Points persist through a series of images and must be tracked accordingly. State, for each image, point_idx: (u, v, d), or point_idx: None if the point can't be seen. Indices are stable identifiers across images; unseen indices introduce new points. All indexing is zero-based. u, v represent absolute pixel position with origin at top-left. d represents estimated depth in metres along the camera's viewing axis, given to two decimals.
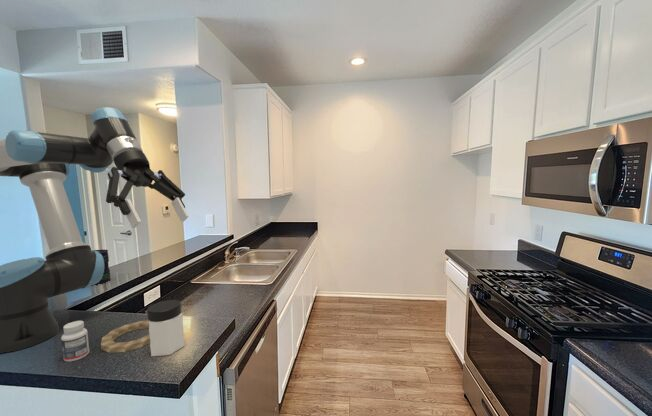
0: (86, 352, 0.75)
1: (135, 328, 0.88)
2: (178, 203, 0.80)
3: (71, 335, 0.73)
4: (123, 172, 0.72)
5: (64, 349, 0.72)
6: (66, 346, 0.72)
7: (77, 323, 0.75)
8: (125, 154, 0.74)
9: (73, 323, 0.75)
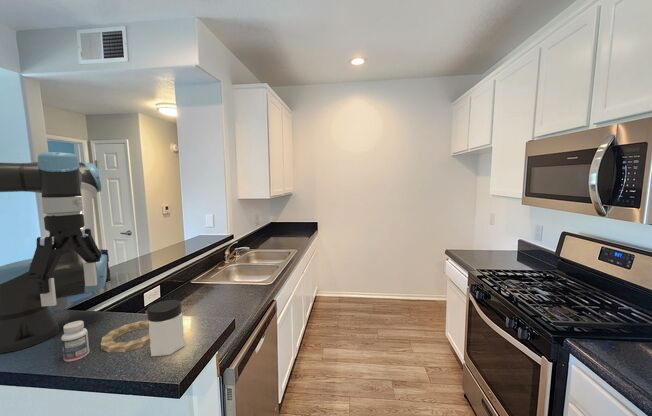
0: (86, 352, 0.75)
1: (135, 328, 0.88)
2: (92, 269, 0.80)
3: (71, 335, 0.73)
4: (55, 240, 0.69)
5: (64, 349, 0.72)
6: (66, 346, 0.72)
7: (77, 323, 0.75)
8: (66, 220, 0.70)
9: (73, 323, 0.75)
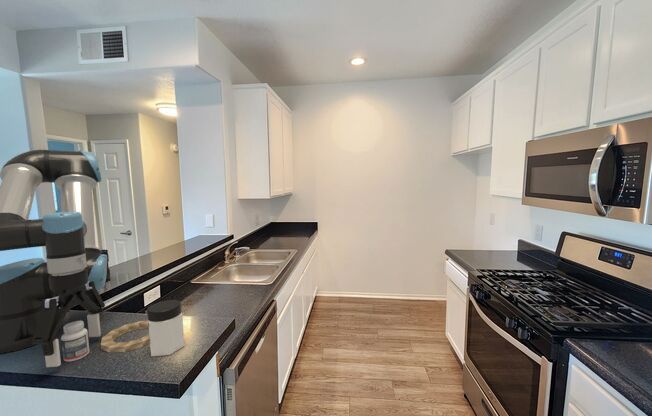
0: (86, 352, 0.75)
1: (135, 328, 0.88)
2: (96, 320, 0.81)
3: (71, 335, 0.73)
4: (59, 300, 0.70)
5: (64, 349, 0.72)
6: (66, 346, 0.72)
7: (77, 323, 0.75)
8: (70, 279, 0.71)
9: (73, 323, 0.75)
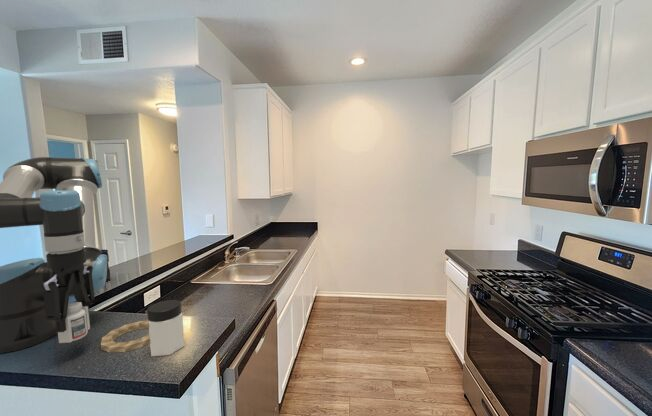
0: (85, 333, 0.75)
1: (135, 328, 0.88)
2: None
3: (69, 316, 0.73)
4: (57, 278, 0.69)
5: None
6: None
7: (75, 304, 0.75)
8: (68, 258, 0.70)
9: (71, 304, 0.75)
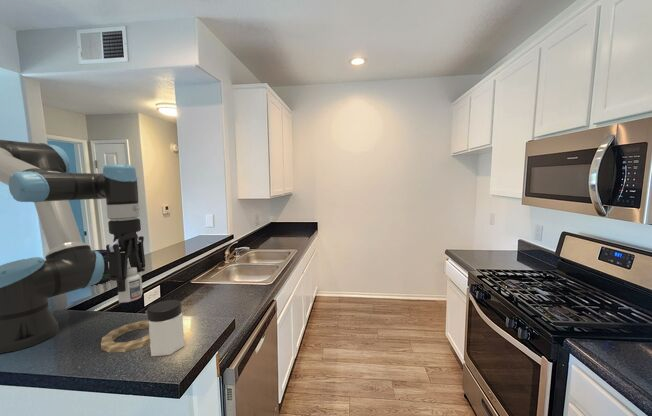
0: (140, 295, 0.83)
1: (135, 328, 0.88)
2: None
3: (127, 278, 0.80)
4: (119, 242, 0.77)
5: None
6: None
7: (131, 268, 0.82)
8: (128, 224, 0.79)
9: (128, 268, 0.82)
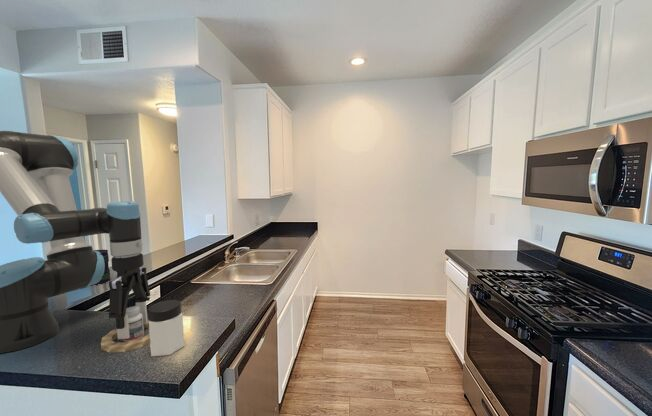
0: (142, 334, 0.84)
1: None
2: (143, 308, 0.87)
3: (130, 318, 0.81)
4: (122, 279, 0.78)
5: None
6: None
7: (134, 308, 0.83)
8: (131, 261, 0.79)
9: (131, 308, 0.83)
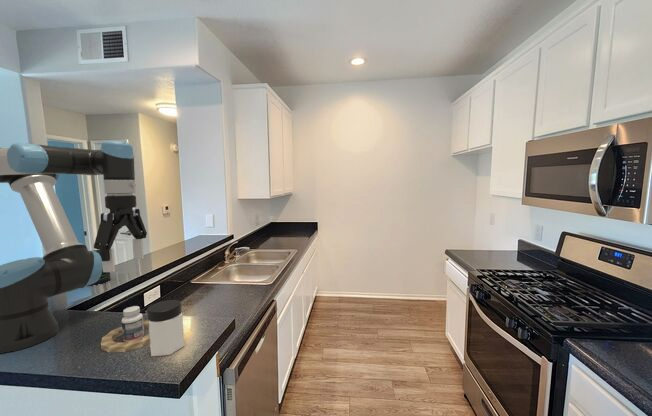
0: (142, 334, 0.84)
1: None
2: (140, 244, 0.92)
3: (130, 318, 0.81)
4: (114, 216, 0.80)
5: (124, 331, 0.81)
6: (126, 328, 0.81)
7: (134, 308, 0.83)
8: (123, 200, 0.81)
9: (131, 308, 0.83)
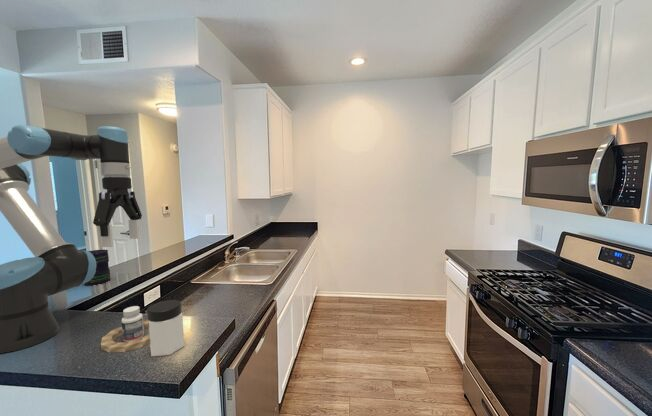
0: (142, 334, 0.84)
1: None
2: (135, 225, 0.98)
3: (130, 318, 0.81)
4: (111, 196, 0.87)
5: (124, 331, 0.81)
6: (126, 328, 0.81)
7: (134, 308, 0.83)
8: (119, 181, 0.88)
9: (130, 308, 0.83)
